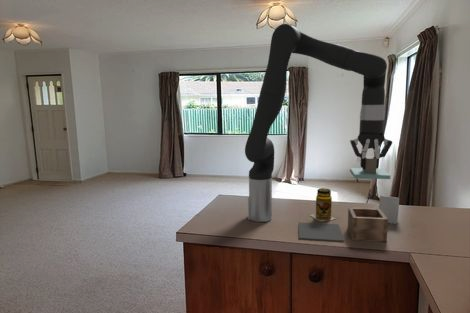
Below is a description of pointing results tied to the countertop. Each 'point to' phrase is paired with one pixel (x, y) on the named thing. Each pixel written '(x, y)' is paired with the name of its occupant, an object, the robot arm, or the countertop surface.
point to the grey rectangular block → (390, 208)
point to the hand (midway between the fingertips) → (369, 168)
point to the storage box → (367, 224)
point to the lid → (370, 170)
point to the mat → (320, 231)
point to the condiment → (323, 205)
